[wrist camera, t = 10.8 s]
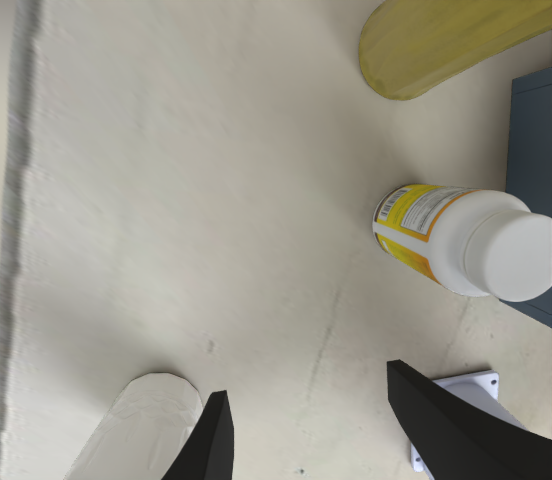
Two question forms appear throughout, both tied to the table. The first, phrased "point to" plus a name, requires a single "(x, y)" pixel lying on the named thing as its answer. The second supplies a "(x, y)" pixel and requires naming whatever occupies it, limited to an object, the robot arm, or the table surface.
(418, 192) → the supplement bottle
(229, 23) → the table surface
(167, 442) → the white cup
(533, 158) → the open box
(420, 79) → the vase
